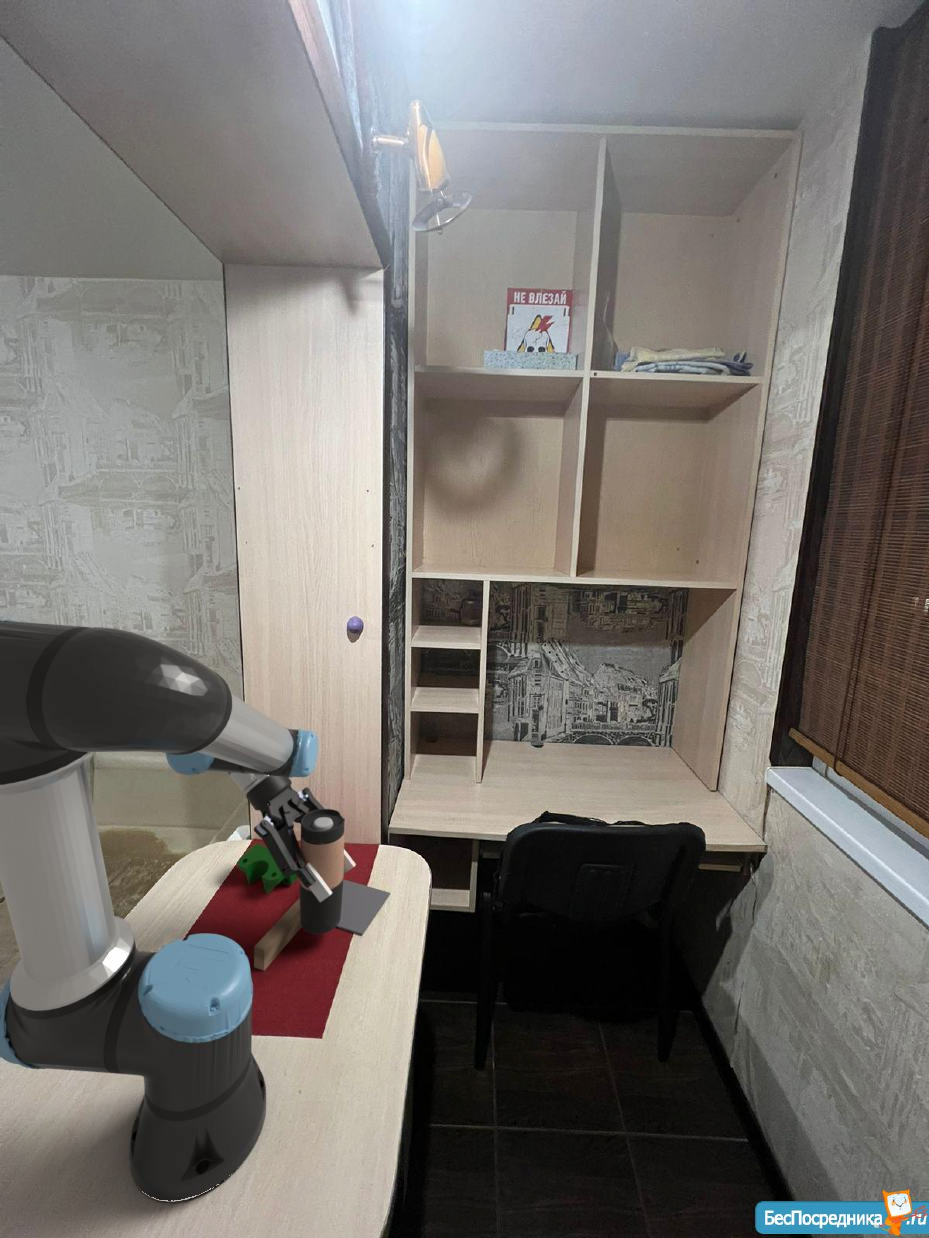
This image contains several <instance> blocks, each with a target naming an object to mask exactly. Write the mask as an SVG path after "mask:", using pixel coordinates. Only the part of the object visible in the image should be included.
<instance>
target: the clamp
mask: <svg viewBox="0 0 929 1238" xmlns="http://www.w3.org/2000/svg"><path fill="white" fill-rule="evenodd" d="M237 867H238V869H239V871H241V872H242V873H245V876H246V881H247V883H248V885H252V884H253V883H254V882H255V881H256V880H258V879H261V880H262V883H263V887H264V891H265V893H266V894H268V895H269V893H270V892H271V891H272V890H274V888H276V886H277V885H279V884H280V883H283V884H285V885H287V886H289V887H290V886H292V885H293V884H294V883H295V882H296V881H297V880H298V879H299V878H298V876H297V875H296V874H293V875H288V876H286V877H284V876H283V875H282V873H281V872H280V870H279V868H278V866H277V865H276V863H275V861H274V859H273V857H272V856H271V854H270V852H269V850H268V849H267V847H266V845H265V846H264V845H262V844H260V843H258V842H257V843H255V844H254V845H253V846H252V847H251V848H249V849H248V850H247V851H246V852H245V854H243V855H242V856H241V857H240V858H239V859H238V860H237ZM287 867H288V866H287Z"/></svg>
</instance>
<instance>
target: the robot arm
mask: <svg viewBox="0 0 929 1238" xmlns="http://www.w3.org/2000/svg"><path fill="white" fill-rule="evenodd" d="M103 752H104V753H107V752H108V753H112V752H114V753H116V752H117V753H118V752H119V753H120V752H123V753H125V752H127V753H128V752H129V753H130V752H144V753H147V752H149V753H163V754H165V758H166V761H167V763H168V765H169V766H170V768H171V769H172V770H173V771H174V772H176V773H177V774H180V775H183V776H191V775H192V776H193V775H199V774H202V773H205V772H219V773H227V774H228V775H229V776H230V778H231V779H232V780H233V782H234V783H235V785H236V786H237V787H238V789H239V790H240V791H241V792H242V793H243V792H244V793H245V792H246V794H245V798H246V799H247V801H248V802H249V803H250V805H251V806H252V807H253V809H254V811H259V812H260V813H261V816H262V820H261V821H259V822H258V824H257V825H255V826H254V827H253V831H254V833H255V834H256V835H257V836H258V837H259V838H261V840H262V842H263V843H264V845H265V847H267V849H268V850H269V852H270V854H271V856H272V857H273V859H274V861H275V863H276V865H277V866H278V868H279V870H280V872H281V873H282V875H283V876H284V877H286V876H288V875H293V874H296V875H297V876H298V878H297V879H299V881H300V880H301V882H302V883H303V885H304V886H305V887H306V888H308V887H309V888H310V889H311V891H312V892H313V894H314V895H315V896H316V898H317V899H318V900H319V902H321V901H323V900H324V899H326V898H327V897H329V896H330V895H331V894H332V891H331V890H330V889H329V887H328V886H327V885H326V883H325V882H324V881H323V879H322V878H321V876H320V875H319V874H318V872H317V871H316V870H315V868H314V867H313V866H312V865H311V864H310V862H309V863H307V864H306V865H305V861H304V858H303V855H302V853H301V850H300V844H299V842H298V839H297V836H296V833H295V830H294V827H295V824H294V823H296V824H300V825H301V821H302V818H303V817H304V816H305V815H306V814H308V813H310V812H312V811H315V810H319V809H326V808H325V807H324V806H323V805H322V804H321V803H320V802H319V801H318V799H316V797H314V794H313V793H312V790H311V789H310V788H309V787H308V786H306V787H304V788H303V789H302V790H300V791H296V790H294V788H292V785H293V784H292V780H291V778H292V779H293V778H307V777H309V776H310V775H311V774H312V773H313V771H314V768H315V767H316V764H317V759H318V755H319V753H318V752H319V740H318V736H317V733H316V732H314V731H310V730H304V729H301V728H298V729H292V728H287V727H286V726H284V725H283V724H281V723H279V722H277V721H276V720H274V719H273V718H271V717H269V716H268V715H266V714H264V713H263V712H261V711H259V710H258V709H257V708H255V707H253V706H252V705H250V704H249V703H247V702H246V701H244V700H242V699H241V698H239V697H238V696H236V695H234V694H233V692H232V689H231V687H230V685H229V684H228V683H227V681H226V679H224V678H223V677H222V676H221V675H220V674H219V673H217V672H216V671H214V670H212V669H211V668H209V667H208V666H207V665H205V664H204V663H202V662H200V661H198V660H196V659H195V658H192V657H190V656H188V655H187V654H185V653H183V652H181V651H179V650H177V649H175V648H173V647H170V646H168V645H167V644H164V643H162V642H159V641H157V640H154V639H152V638H149V637H146V636H144V635H141V634H138V633H135V632H131V631H127V630H123V629H119V628H112V627H111V628H110V627H102V626H101V627H100V626H99V627H97V626H96V627H95V626H94V627H90V626H80V625H79V626H78V625H64V624H51V623H50V624H48V623H37V622H27V621H26V622H24V621H17V620H13V619H7V618H5V619H4V618H0V885H1V888H2V892H3V895H4V900H5V903H6V907H7V909H8V910H7V911H8V913H9V914H8V915H9V918H10V922H11V926H12V929H13V933H14V936H15V940H16V944H17V948H18V952H19V955H20V957H21V959H20V960H19V961H18V962H17V965H16V966H15V967H14V969H13V972H12V973H11V974H10V975H9V977H8V979H7V981H5V984H4V985H3V986H2V989H1V991H0V1058H1V1059H3V1060H4V1061H6V1062H8V1063H10V1064H13V1065H19V1066H21V1067H23V1068H26V1069H32V1070H46V1069H47V1070H48V1069H51V1070H62V1071H73V1072H78V1071H79V1072H90V1073H101V1074H102V1073H104V1074H116V1075H117V1074H118V1075H129V1076H130V1075H131V1076H142V1077H143V1082H144V1083H143V1084H144V1094H143V1097H142V1100H141V1102H140V1105H139V1107H138V1109H137V1114H136V1116H135V1119H134V1122H133V1125H132V1128H131V1132H130V1138H129V1148H128V1149H129V1150H128V1152H129V1168H130V1173H131V1177H132V1179H134V1180H133V1182H134V1181H135V1182H134V1184H135V1183H136V1184H135V1186H136V1185H137V1186H138V1187H139V1188H140V1189H141V1191H143V1192H144V1193H146V1194H147V1195H149V1196H150V1197H154V1198H156V1199H159V1200H168V1201H171V1200H173V1201H174V1200H181V1199H185V1198H188V1197H192V1196H195V1195H199V1194H201V1193H203V1192H205V1191H207V1190H209V1189H210V1188H211V1189H212V1188H213V1187H215V1186H216V1185H217V1184H220V1183H221V1182H222V1181H223V1180H225V1179H226V1178H227V1179H229V1178H230V1177H229V1175H231V1174H232V1175H234V1173H235V1172H236V1171H237V1170H238V1169H239V1168H240V1167H241V1166H242V1165H243V1163H244V1162H245V1161H246V1160H247V1158H248V1157H249V1155H250V1154H251V1153H252V1151H253V1149H254V1147H255V1146H256V1144H257V1142H258V1141H259V1138H260V1136H261V1133H262V1131H263V1127H264V1124H265V1120H266V1113H267V1085H266V1082H265V1078H264V1075H263V1072H262V1071H261V1069H260V1067H259V1064H258V1062H257V1060H256V1059H255V1057H254V1055H253V1052H252V1040H253V1039H252V1035H253V1034H252V1033H253V1031H252V1026H253V1025H252V1023H253V1021H252V1020H253V1019H252V1018H253V1016H252V1015H253V1013H252V1012H253V1007H252V1005H253V996H254V992H253V991H254V984H253V981H252V973H251V972H252V971H251V967H250V965H251V964H250V961H249V957H248V956H247V954H245V953H246V952H245V950H244V948H242V947H241V945H240V944H238V943H237V942H236V941H235V940H234V939H232V938H229V937H227V936H225V935H221V934H218V933H207V932H206V933H194V934H190V935H188V936H187V938H186V940H182V939H181V938H177V939H175V940H173V941H171V942H170V943H168V944H166V945H164V946H163V947H161V948H160V949H159V950H158V951H146V950H140V949H138V948H137V945H136V941H135V940H136V939H135V933H134V930H133V928H132V925H131V924H130V923H129V922H127V920H125V919H124V918H122V917H119V916H116V915H115V913H114V906H113V903H112V901H113V900H112V897H111V893H110V892H111V891H110V886H109V881H108V876H107V871H106V865H105V860H104V854H103V851H102V846H101V845H102V844H101V838H100V834H99V829H98V823H97V818H96V813H95V808H94V803H93V797H92V792H91V787H90V781H89V776H88V771H87V770H88V769H87V766H86V761H85V759H86V758H87V757H88V756H89V755H90V754H91V753H103ZM345 849H346V847H345V846H344V874H346V873H348V872H350V870H352V869H353V868H355V867H356V865H357V864H356V862H355V861H354V860H353V858H352V857H351V856H350V855H349V853H348V851H346V850H345ZM287 866H288V867H287ZM243 1161H244V1162H243ZM238 1167H239V1168H238ZM234 1171H235V1172H234ZM233 1172H234V1173H233ZM232 1175H231V1176H232ZM228 1177H229V1178H228ZM227 1179H226V1180H227ZM226 1180H225V1181H226ZM222 1183H223V1182H222ZM222 1183H221V1184H222ZM221 1184H220V1185H221ZM137 1186H136V1187H137ZM138 1187H137V1188H138ZM139 1188H138V1189H139ZM215 1188H216V1187H215ZM212 1190H213V1189H212ZM141 1191H140V1192H141ZM144 1193H143V1194H144Z"/></svg>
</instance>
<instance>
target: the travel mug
mask: <svg viewBox="0 0 929 1238" xmlns="http://www.w3.org/2000/svg"><path fill="white" fill-rule="evenodd" d="M299 847H300V850H301V853H302V855H303V858H304V861H305V865H306V864H307V863H309V862H310V864H311V865H312V866H313V867H314V868H315V870H316V871H317V872H318V874H319V875H320V876H321V878H322V879H323V881H324V882H325V883H326V885H327V886H328V887H329V889H330V890H331V891H332V894H331V895H330V896H329V897H327V898H326V899H324V900H323V901H321V902H319V900H318V899H317V898H316V896H315V895H314V894H313V892H312V891H311V889H310V888H309V887H308V888H306V887H305V886H304V885H303V883H302V882H301V880H300V879H299V898H300V919H301V926H302V927H301V928H302V929H303V931H304V932H306V933H309V934H311V935H322V934H326V933H329V932H332V930H334V929H335V928H337V927H336V926H337V925H338V924H339V922H340V918H341V906H342V891H343V879H344V847H345V818H344V817H343V815H341V813H340V812H339V810H336V809H332V808H325V809H319V810H315V811H312V812H310V813H308V814H306V815H305V816H304V817H303V818H302V821H301V824H300V844H299Z"/></svg>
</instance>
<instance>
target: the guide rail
mask: <svg viewBox="0 0 929 1238" xmlns="http://www.w3.org/2000/svg"><path fill="white" fill-rule="evenodd" d="M301 928H302V926H301V919H300V897H299V898H298V899H297V900H296V901H295V902H294V903H293V904H292V905H291V906H290V908H289V909H288V910H286V912H285V913H284V914H282V916H281V917H280V918H279V920H277V922H275V924H274V925H273V926H272V927H271V928H270V929H269V930H268V931H267V932H266V934H265V935H264V936H263V937H261V939H260V940H259V941H258V942H257V943H256V944H255V945H254V947H253V948H254V949H253V958H254V959H253V960H254V961H253V962H254V964H253V966H254V967H253V968H254V969H258V970H260V971H263V972H265V971H266V970H267V968H268V967H269V966H270V965H271V964H272V963H273V961H274V960H275V959H276V958H277V957H278V955H279V954H280V953H281V952H282V951H283V949H284V948H285V947H286V946H287V945H288V944H289V943H290V942H291V940H292V939H293V938H294V936H295V935H297V933H298V932H299V931H300V930H301Z"/></svg>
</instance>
